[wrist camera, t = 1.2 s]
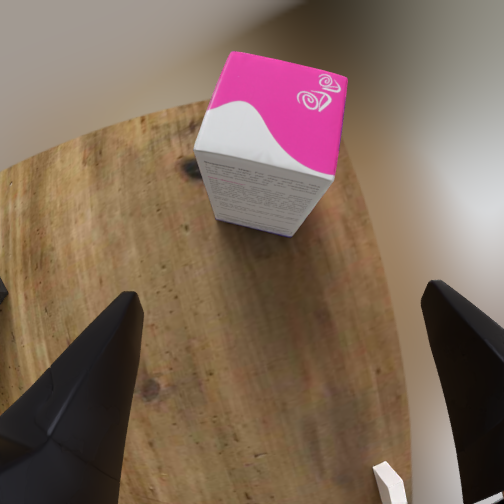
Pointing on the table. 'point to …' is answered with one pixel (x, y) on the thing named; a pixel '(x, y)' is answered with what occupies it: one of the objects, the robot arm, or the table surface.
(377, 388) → the table surface
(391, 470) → the eraser
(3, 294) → the black rubber pad
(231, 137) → the supplement box
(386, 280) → the table surface
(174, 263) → the table surface
